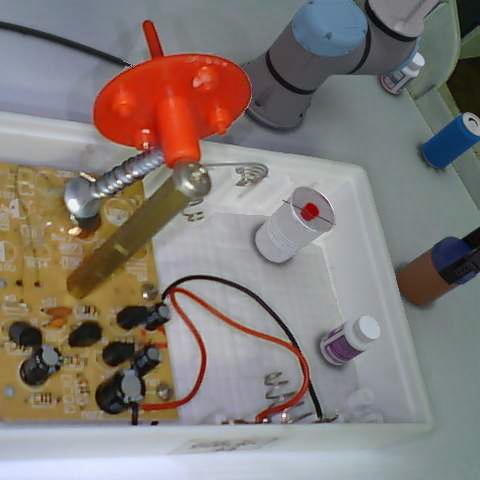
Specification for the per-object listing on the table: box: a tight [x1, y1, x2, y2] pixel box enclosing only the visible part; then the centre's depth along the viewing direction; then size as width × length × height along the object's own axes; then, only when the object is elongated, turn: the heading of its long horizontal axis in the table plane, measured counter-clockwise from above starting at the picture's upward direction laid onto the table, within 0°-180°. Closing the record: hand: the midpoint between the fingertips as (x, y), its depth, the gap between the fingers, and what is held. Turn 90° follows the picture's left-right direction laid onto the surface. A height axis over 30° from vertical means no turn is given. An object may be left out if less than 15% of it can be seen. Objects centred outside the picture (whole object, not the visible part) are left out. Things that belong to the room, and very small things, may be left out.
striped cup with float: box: [254, 185, 337, 264], centre depth 129 cm, size 10×8×12 cm
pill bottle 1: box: [319, 314, 381, 366], centre depth 124 cm, size 5×5×10 cm
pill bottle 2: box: [380, 52, 426, 95], centre depth 168 cm, size 5×5×9 cm
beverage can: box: [422, 112, 480, 169], centre depth 161 cm, size 6×6×12 cm
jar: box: [396, 246, 461, 307], centre depth 140 cm, size 8×8×11 cm
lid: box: [431, 235, 479, 286], centre depth 136 cm, size 8×8×2 cm
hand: (454, 262), depth 136 cm, fingers open, 10 cm apart
